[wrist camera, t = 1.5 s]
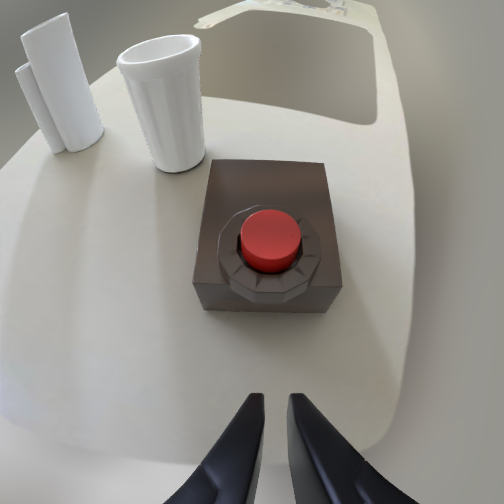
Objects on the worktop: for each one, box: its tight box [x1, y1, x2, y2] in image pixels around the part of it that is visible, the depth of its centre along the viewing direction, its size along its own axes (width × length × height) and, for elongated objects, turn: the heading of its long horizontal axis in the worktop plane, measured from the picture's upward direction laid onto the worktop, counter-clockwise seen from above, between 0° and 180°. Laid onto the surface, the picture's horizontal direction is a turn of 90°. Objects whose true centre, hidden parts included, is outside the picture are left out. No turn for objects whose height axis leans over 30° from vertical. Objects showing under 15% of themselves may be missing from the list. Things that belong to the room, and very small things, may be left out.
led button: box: [241, 210, 301, 273], centre depth 18 cm, size 4×4×2 cm
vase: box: [15, 13, 104, 154], centre depth 28 cm, size 11×7×20 cm, turn 76°
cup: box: [116, 35, 205, 173], centre depth 27 cm, size 8×8×14 cm
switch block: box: [193, 159, 342, 313], centre depth 24 cm, size 13×10×7 cm
